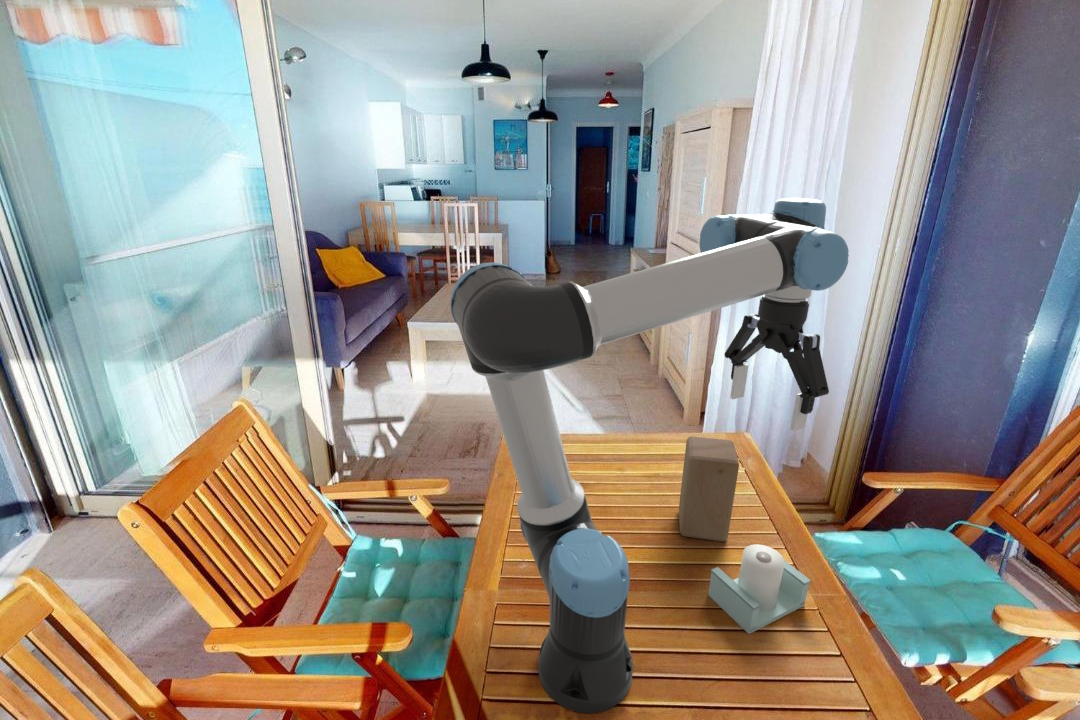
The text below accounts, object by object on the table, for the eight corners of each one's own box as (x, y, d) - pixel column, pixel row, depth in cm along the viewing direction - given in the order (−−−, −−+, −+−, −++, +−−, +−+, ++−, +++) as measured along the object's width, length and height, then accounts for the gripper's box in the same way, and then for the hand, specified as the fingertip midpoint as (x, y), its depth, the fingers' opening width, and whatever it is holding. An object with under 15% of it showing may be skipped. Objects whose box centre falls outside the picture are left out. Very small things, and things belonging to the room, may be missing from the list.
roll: (757, 616, 99) (765, 575, 95) (728, 589, 104) (734, 550, 101) (784, 602, 102) (793, 562, 98) (755, 577, 107) (762, 538, 104)
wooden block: (727, 544, 118) (740, 463, 110) (679, 537, 120) (688, 457, 112) (722, 515, 127) (734, 438, 120) (678, 509, 129) (686, 434, 121)
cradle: (749, 634, 96) (754, 608, 94) (707, 594, 105) (711, 569, 102) (804, 606, 102) (810, 580, 100) (761, 570, 111) (765, 546, 108)
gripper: (871, 313, 82) (842, 438, 90) (744, 278, 103) (729, 382, 111) (838, 319, 79) (811, 449, 87) (713, 282, 100) (700, 389, 108)
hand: (765, 412), depth 99 cm, fingers open, 13 cm apart
